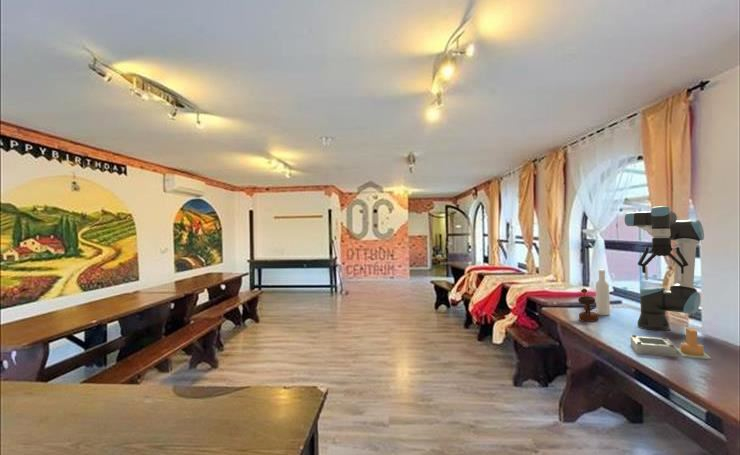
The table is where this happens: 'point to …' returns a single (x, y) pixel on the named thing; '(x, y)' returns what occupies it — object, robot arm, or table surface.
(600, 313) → the bottle
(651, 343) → the housing
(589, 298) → the brown wooden tiered piece
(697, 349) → the orange stamp
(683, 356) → the mat
